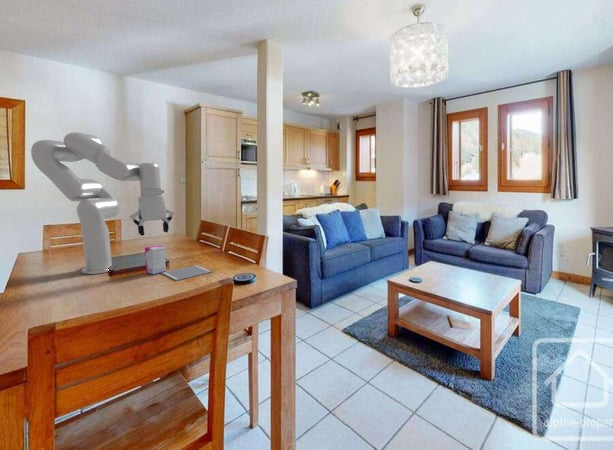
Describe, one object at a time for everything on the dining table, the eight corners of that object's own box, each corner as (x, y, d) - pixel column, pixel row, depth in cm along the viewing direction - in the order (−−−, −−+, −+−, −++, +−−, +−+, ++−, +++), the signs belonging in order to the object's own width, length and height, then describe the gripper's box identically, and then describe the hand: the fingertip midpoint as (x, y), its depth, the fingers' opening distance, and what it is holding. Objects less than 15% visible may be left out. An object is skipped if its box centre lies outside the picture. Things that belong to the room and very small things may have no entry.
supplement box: (166, 272, 132) (164, 246, 130) (153, 275, 127) (151, 249, 125) (158, 269, 135) (157, 244, 133) (145, 273, 130) (143, 247, 128)
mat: (161, 273, 130) (161, 272, 130) (196, 265, 142) (196, 264, 141) (176, 281, 121) (175, 280, 120) (212, 272, 132) (212, 271, 132)
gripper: (168, 192, 135) (170, 230, 137) (124, 193, 122) (128, 235, 125) (175, 192, 130) (178, 231, 132) (131, 194, 117) (135, 237, 120)
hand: (154, 233), depth 128 cm, fingers open, 9 cm apart
